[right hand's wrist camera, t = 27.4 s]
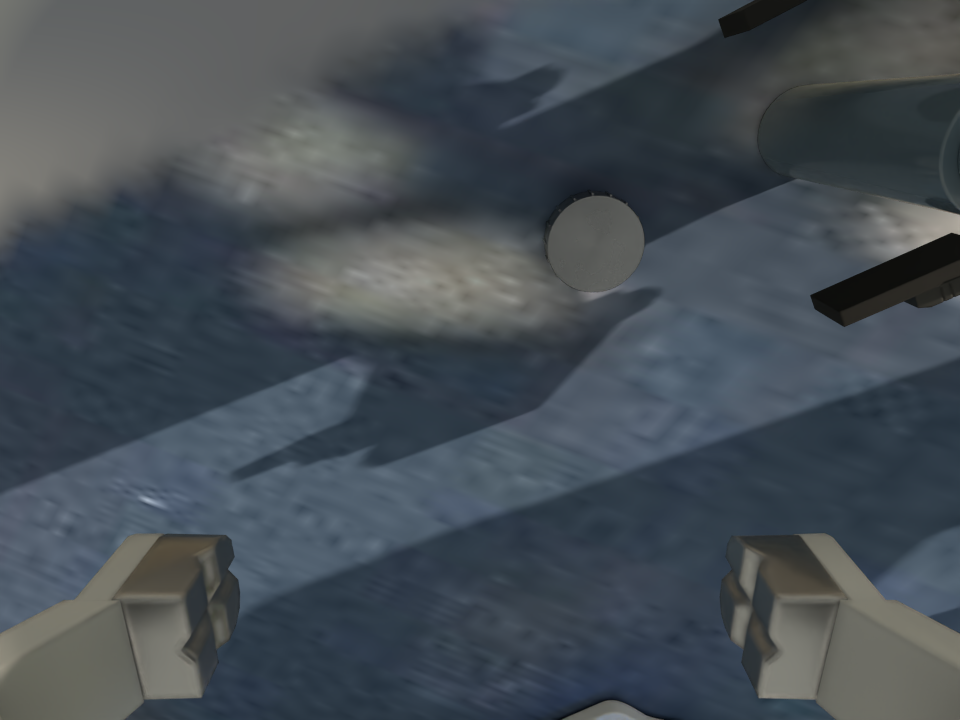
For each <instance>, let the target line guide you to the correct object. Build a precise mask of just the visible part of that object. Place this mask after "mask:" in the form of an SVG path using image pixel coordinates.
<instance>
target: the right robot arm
mask: <svg viewBox="0 0 960 720" xmlns="http://www.w3.org/2000/svg"><path fill="white" fill-rule="evenodd" d="M234 557H235V556H234V551H233V546H232V541H231V539H230V538H229V537H228V536H226V535H204V534H134V535H131V536H128V537H127V538H126V539H125V541H124V542H123V543H122V544H121V545H120V546H119V548H118V549H117V550H116V551H115V552H114V554H113V555H112V556H111V557H110V558H109V559H108V561H107V562H106V563H105V564H104V565H103V567H102V568H101V569H100V570H99V571H98V572H97V574H96V575H95V576H94V577H93V578H92V579H91V581H90V582H89V583H88V584H87V585H86V587H85V588H84V589H83V590H82V591H81V592H80V594H79V595H78V596H77V597H76V598H75V600H63V601H62V602H60V603H58V604H56V605H54V606H52V607H50V608H48V609H46V610H44V611H42V612H41V613H39V614H37V615H35V616H33V617H31V618H29V619H27V620H25V621H23V622H21V623H19V624H18V625H16V626H14V627H12V628H10V629H8V630H6V631H4V632H2V633H0V720H124V719H126V718H127V717H128V716H129V715H130V714H131V713H132V712H134V711H135V710H136V709H137V708H138V707H139V706H141V705H142V704H143V703H144V700H143V699H176V698H202V696H203V694H204V692H205V690H206V687H207V685H208V683H209V681H210V679H211V677H212V675H213V673H214V671H215V669H216V667H217V665H218V663H219V661H218V656H217V650H216V649H218V648H219V647H221V646H222V645H223V644H225V643H226V642H227V641H229V640H230V638H231V635H232V633H233V631H234V629H235V626H236V623H237V618H238V613H239V609H240V589H239V582H238V579H237V578H236V577H235V576H234V575H233V574H232V573H231V572H230V571H229V570H228V568H229V566H230V564H231V563H232V561H233V559H234ZM725 557H726V559H727V561H728V563H729V564H730V566H731V568H732V570H731V571H730V572H729V573H728V574H727V575H726V576H725V577H724V578H723V579H722V582H721V590H720V606H721V615H722V619H723V623H724V626H725V629H726V631H727V633H728V635H729V638H730V640H731V641H733V642H734V643H735V644H737V645H738V646H739V647H741V648H742V649H744V650H743V656H742V661H741V663H742V665H743V667H744V669H745V671H746V673H747V675H748V677H749V679H750V681H751V683H752V685H753V687H754V689H755V691H756V694H757V696H758V698H783V699H816V703H817V704H819V705H820V706H821V707H822V708H823V709H824V710H826V711H827V712H828V713H829V714H830V715H831V716H832V717H834V718H835V719H836V720H960V634H959V633H958V632H956V631H954V630H952V629H950V628H948V627H946V626H944V625H942V624H940V623H938V622H937V621H935V620H933V619H931V618H929V617H927V616H925V615H923V614H921V613H919V612H918V611H916V610H914V609H912V608H910V607H908V606H906V605H904V604H902V603H900V602H898V601H897V600H885V598H884V597H883V596H882V595H881V594H880V593H879V591H878V590H877V589H876V588H875V587H874V585H873V584H872V583H871V582H870V581H869V580H868V578H867V577H866V576H865V575H864V574H863V572H862V571H861V570H860V569H859V568H858V567H857V565H856V564H855V563H854V562H853V561H852V560H851V558H850V557H849V556H848V555H847V554H846V552H845V551H844V550H843V549H842V548H841V547H840V545H839V544H838V543H837V542H836V541H835V539H834V538H833V537H831V536H829V535H827V534H825V533H815V534H794V535H749V536H731V538H730V540H729V542H728V545H727V551H726V556H725ZM562 720H662V719H657V718H653V717H650V716H647V715H645V714H643V713H641V712H640V711H638V710H636V709H635V708H633V707H631V706H629V705H627V704H625V703H623V702H620V701H616V700H607V701H603V702H601V703H598V704H596V705H594V706H591V707H589V708H587V709H585V710H582V711H580V712H578V713H575V714H573V715H571V716H568V717H566V718H564V719H562Z"/></svg>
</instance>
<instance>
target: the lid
mask: <svg viewBox="0 0 960 720" xmlns="http://www.w3.org/2000/svg"><path fill="white" fill-rule="evenodd" d="M570 196H571V197H570V198H568V199H566V200H565V201H564V202H562V203H561V204H560V205H559V206H556V209H555V211H554V212H553V213H552V215H551V217H550V218H549V221H547V222H546V223H547V226H546V229H545V235H544V238H543V241H544V245H545V250H546V254H547V255H545V256H546V258H547V261H548V262H550V264H551V266H552V268H553V270H554V272H555V274H556V276H557V277H559V278H560V279H561V280H562V281H563V282H564V283H566V284H567V285H568V286H570V287H572V288H574V289H577V290H580V291H584V292H602V291H606V290H610V289H612V288H614V287H616V286H618V285H620V284H621V283H623V282H624V281H625V280H627V279H628V278H629V277H630V276H631V275H632V274H633V272H634V271H635V270H636V268H637V266H638V265H639V263H640V261H641V258H642V255H643V251H644V243H645V238H644V231H643V227H642V224H641V222H640V220H639V216H637V215H636V214H635V212H634V211H633V210H632V209H631V208H630V207H629V206H628V203H627V202H625V201H624V200H622V199H621V200H619V199H618V198H616V197H614V196H613V195H611V194H610V193H608V192H606V191H605V193H604V192H598V191H590V190H588V192H582V193H579V194H576V195H574V196H573V195H570Z"/></svg>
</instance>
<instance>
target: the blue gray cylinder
mask: <svg viewBox="0 0 960 720" xmlns="http://www.w3.org/2000/svg"><path fill="white" fill-rule="evenodd" d="M758 146H759V151H760V153H761V156H762V158H763V160H764V161H765V163H766V164H767V165H768V166H769V167H770V168H771V169H772V170H773V171H775V172H776V173H778V174H781V175H784V176H788V177H792V178H797V179H801V180H806V181H810V182H815V183H819V184H824V185H828V186H832V187H837V188H841V189H846V190H850V191H855V192H859V193H864V194H868V195H873V196H877V197H882V198H886V199H891V200H895V201H900V202H904V203H909V204H913V205H918V206H922V207H927V208H931V209H936V210H940V211H945V212H949V213H954V214H958V215H960V74H948V75H935V76H921V77H907V78H893V79H879V80H865V81H851V82H838V83H824V84H810V85H802V86H797V87H795V88H792V89H790V90H788V91H786V92H784V93H783V94H781V95H780V96H779V97H778V98H777V99H775V100H774V102H773V103H772V104H771V105H770V106H769V108H768V109H767V111H766V112H765V114H764V116H763V118H762V120H761V123H760V127H759V132H758Z"/></svg>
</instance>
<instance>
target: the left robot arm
mask: <svg viewBox="0 0 960 720" xmlns="http://www.w3.org/2000/svg"><path fill="white" fill-rule="evenodd" d="M805 1H807V0H754V1H752V2H751V3H749V4H747V5H745V6H743V7H741V8H739V9H737V10H735V11H734V12H732V13H730V14H728V15H726V16H724V17H722V18H720V19H718V20H719V23H720V26H721V29H722V32H723V35H724V38H726V37H729V36H732V35H736V34H739V33H742V32H746V31H749V30H751V29H753V28H755V27H757V26H759V25H761V24H763V23H764V22H766V21H768V20H770V19H772V18H774V17H776V16H778V15H780V14H782V13H784V12H786V11H788V10H789V9H791V8H793V7H795V6H797V5H799V4H801V3H803V2H805ZM958 295H960V235H958V234H954V233H950V234H948V235H945V236H943V237H941V238H939V239H936V240H934V241H932V242H930V243H927V244H925V245H923V246H921V247H918V248H916V249H914V250H911V251H909V252H907V253H905V254H902V255H900V256H898V257H896V258H893V259H891V260H889V261H887V262H884V263H882V264H880V265H878V266H875V267H873V268H871V269H869V270H866V271H864V272H862V273H860V274H857V275H855V276H853V277H850V278H848V279H846V280H844V281H841V282H839V283H837V284H835V285H832V286H830V287H828V288H826V289H823V290H821V291H819V292H817V293H814V294H812V295H810V296H811V299H812V302H813V305H814V308H815V309H816V310H817V311H819V312H820V313H822V314H824V315H825V316H827V317H829V318H830V319H832V320H834V321H835V322H837V323H839V324H840V325H842V326H843V327H845V326H848V325H850V324H852V323H855V322H857V321H859V320H862V319H864V318H866V317H868V316H871V315H873V314H875V313H878V312H880V311H882V310H885V309H887V308H889V307H892V306H894V305H896V304H899V303H901V302H903V301H904V302H906V303H909V304H911V305H913V306H915V307H917V308H925V307H932V306H935V305H937V304H939V303H942V302H943V301H946V300H949V299H951V298H953V297H956V296H958Z"/></svg>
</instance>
